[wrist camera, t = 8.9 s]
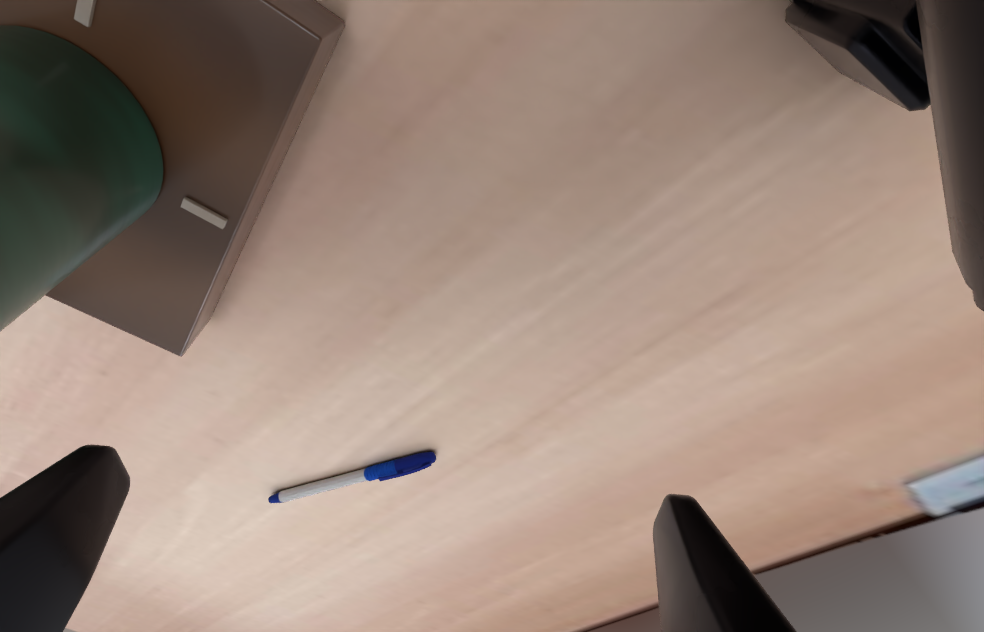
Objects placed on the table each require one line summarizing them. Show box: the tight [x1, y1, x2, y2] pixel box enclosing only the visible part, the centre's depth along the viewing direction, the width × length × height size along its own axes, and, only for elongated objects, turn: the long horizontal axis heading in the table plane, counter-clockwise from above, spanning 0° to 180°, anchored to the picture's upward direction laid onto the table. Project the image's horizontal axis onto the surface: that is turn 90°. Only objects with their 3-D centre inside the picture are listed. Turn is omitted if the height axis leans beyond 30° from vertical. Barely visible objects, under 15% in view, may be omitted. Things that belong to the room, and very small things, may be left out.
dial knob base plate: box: [0, 0, 345, 356], centre depth 18 cm, size 14×11×3 cm
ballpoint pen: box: [268, 452, 436, 503], centre depth 30 cm, size 10×1×1 cm, turn 116°
